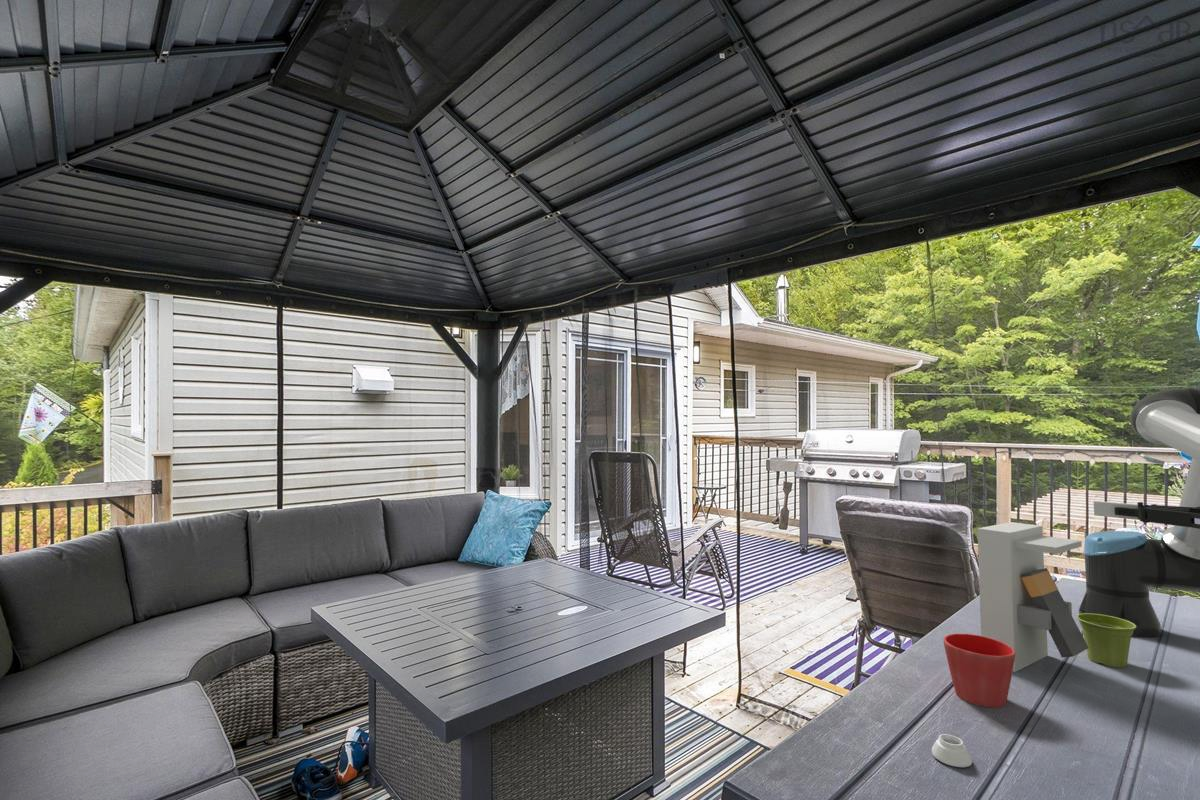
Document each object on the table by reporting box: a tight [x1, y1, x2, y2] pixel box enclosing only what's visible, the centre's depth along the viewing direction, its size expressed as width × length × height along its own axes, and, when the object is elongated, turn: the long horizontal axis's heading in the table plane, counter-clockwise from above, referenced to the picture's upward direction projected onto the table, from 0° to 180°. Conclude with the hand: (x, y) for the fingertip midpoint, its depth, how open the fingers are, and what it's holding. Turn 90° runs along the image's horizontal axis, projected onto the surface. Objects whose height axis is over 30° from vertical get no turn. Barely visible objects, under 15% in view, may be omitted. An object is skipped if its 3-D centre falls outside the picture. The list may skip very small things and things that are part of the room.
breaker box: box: [977, 521, 1083, 673], centre depth 117 cm, size 16×13×28 cm
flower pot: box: [942, 633, 1015, 708], centre depth 102 cm, size 11×11×10 cm
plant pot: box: [1076, 613, 1136, 668], centre depth 118 cm, size 9×9×9 cm
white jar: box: [931, 733, 973, 768], centre depth 83 cm, size 5×3×5 cm
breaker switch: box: [1020, 567, 1089, 659], centre depth 114 cm, size 9×2×16 cm, turn 122°
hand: (1095, 508), depth 109 cm, fingers closed
